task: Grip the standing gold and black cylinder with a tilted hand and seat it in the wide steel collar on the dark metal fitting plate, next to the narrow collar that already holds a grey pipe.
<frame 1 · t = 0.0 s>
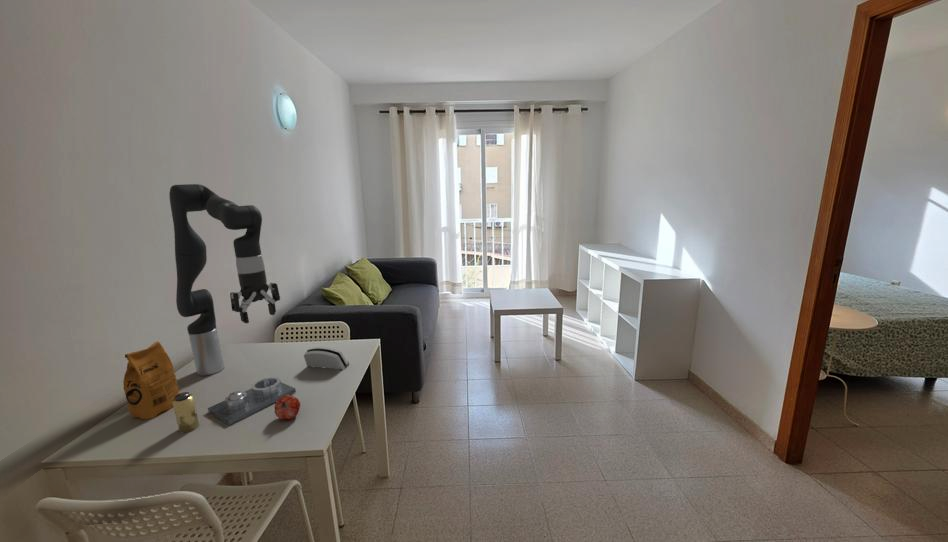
hand: (259, 318, 126), 29 cm above the table, tool pointing down, fingers open, 8 cm apart
gold and black cylinder: (189, 427, 119), on the table
grey rounded block: (326, 367, 155), on the table
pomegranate: (289, 417, 122), on the table
coffee package: (157, 409, 130), on the table
fitting plate: (253, 401, 132), on the table
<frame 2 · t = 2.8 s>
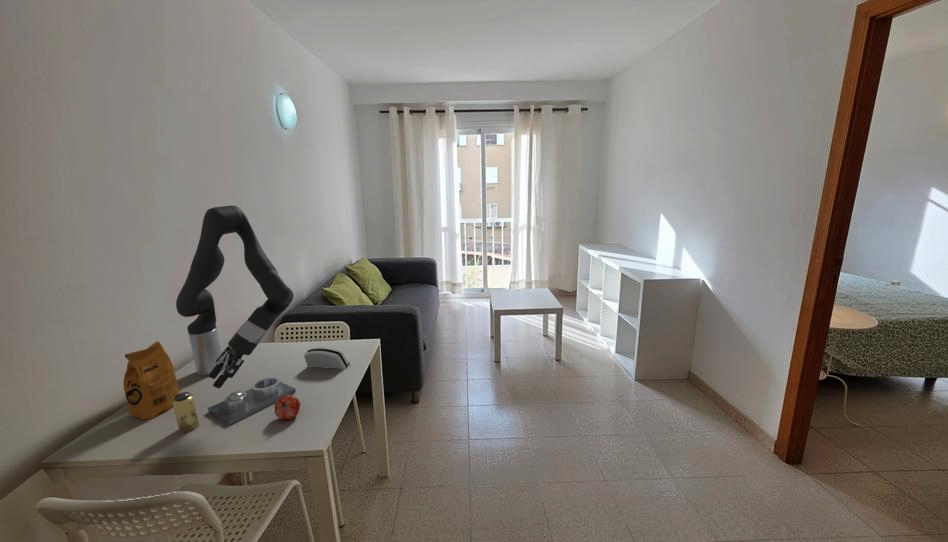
hand: (213, 382, 121), 12 cm above the table, tool tilted 45°, fingers open, 8 cm apart
nothing on the table moved.
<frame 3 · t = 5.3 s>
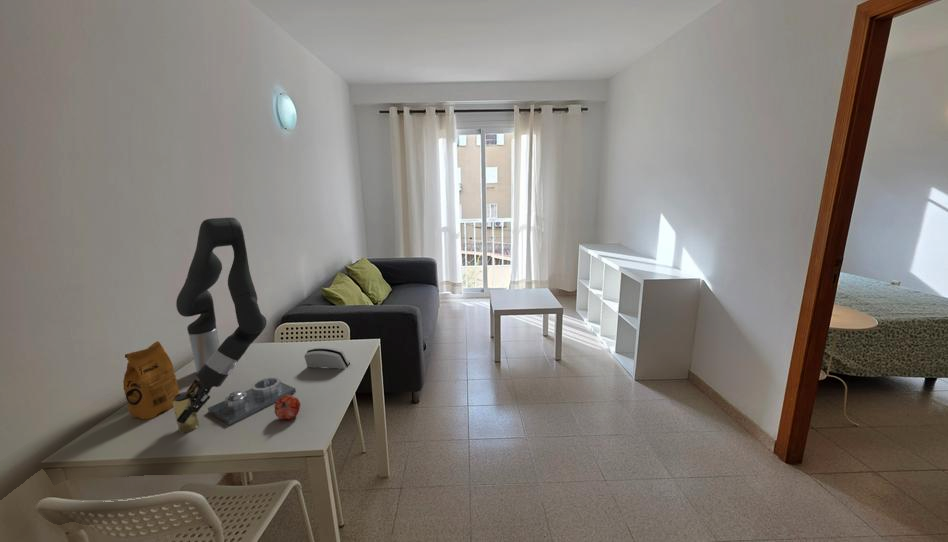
hand: (179, 418, 116), 4 cm above the table, tool tilted 45°, fingers closed on gold and black cylinder, 5 cm apart
gold and black cylinder: (189, 427, 119), on the table, touching gripper
everything else where it was.
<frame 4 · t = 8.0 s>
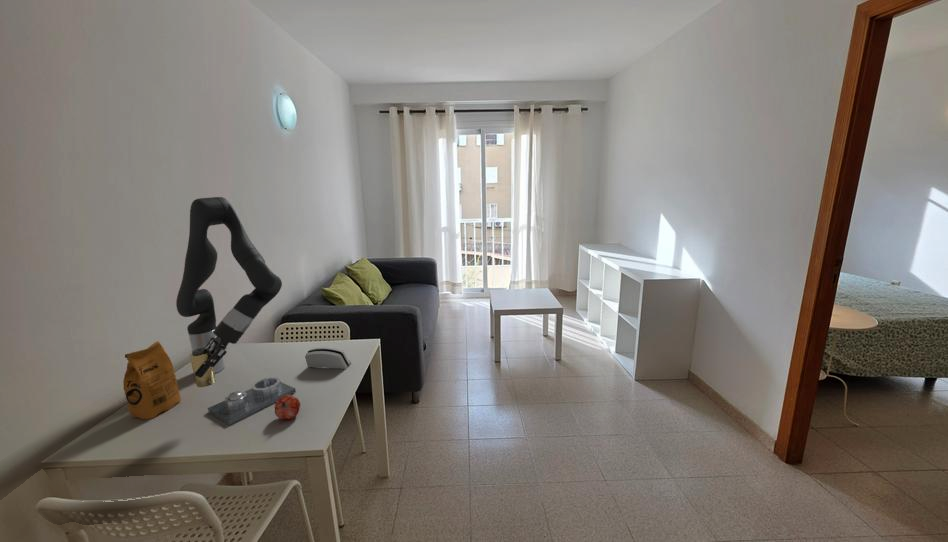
hand: (196, 372, 119), 16 cm above the table, tool tilted 45°, fingers closed on gold and black cylinder, 5 cm apart
gold and black cylinder: (206, 383, 121), point 12 cm above the table, touching gripper
everything else where it was.
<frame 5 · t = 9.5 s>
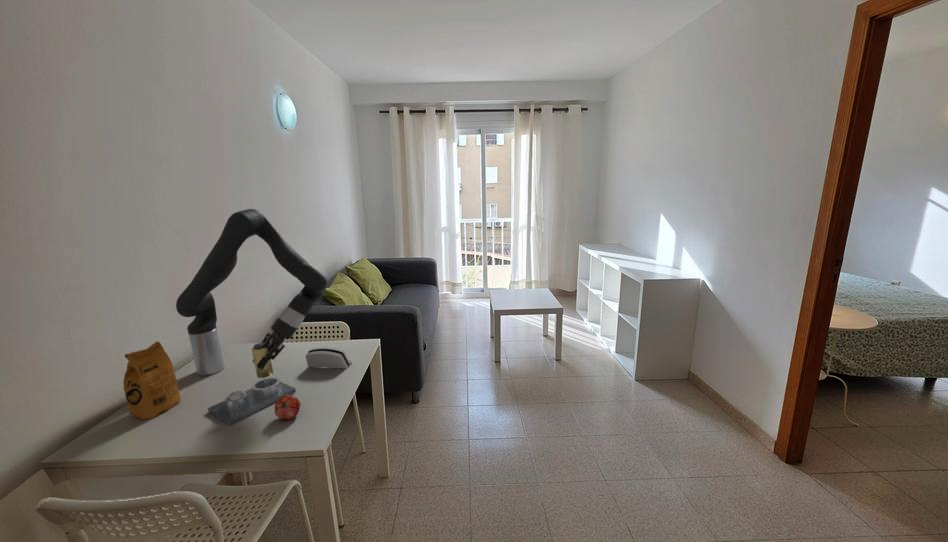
hand: (257, 365, 132), 12 cm above the table, tool tilted 45°, fingers closed on gold and black cylinder, 5 cm apart
gold and black cylinder: (265, 374, 134), point 8 cm above the table, touching gripper
everything else where it was.
when the fingers open (7 cm above the table, at t = 10.8 s): gold and black cylinder stays where it is, resting on fitting plate.
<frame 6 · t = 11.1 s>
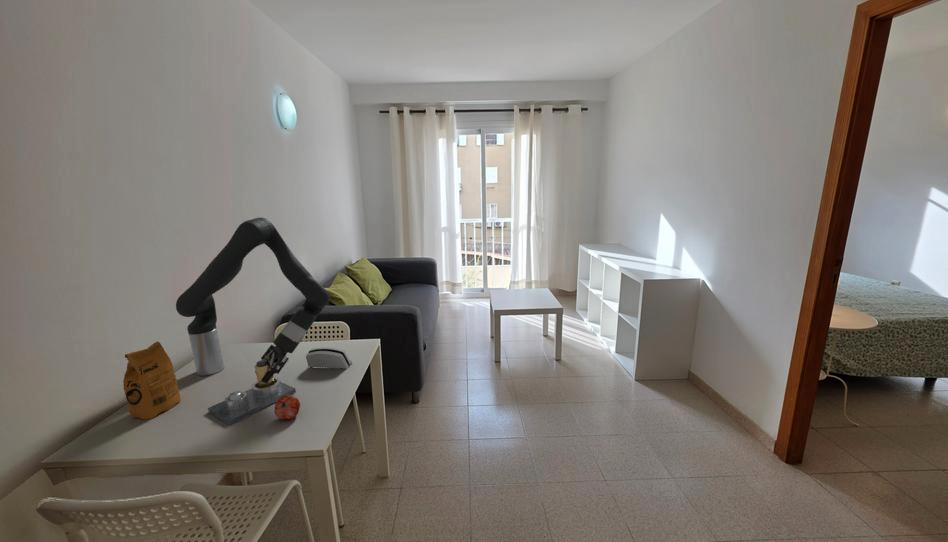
hand: (260, 377, 133), 7 cm above the table, tool tilted 45°, fingers open, 8 cm apart
gold and black cylinder: (267, 390, 135), point 2 cm above the table, touching fitting plate
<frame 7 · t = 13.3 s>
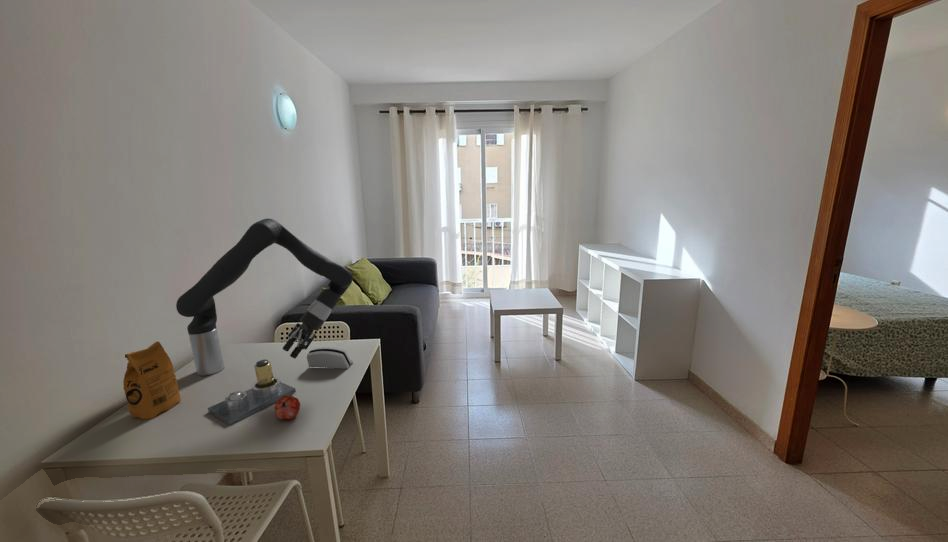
hand: (288, 353, 138), 13 cm above the table, tool tilted 45°, fingers open, 8 cm apart
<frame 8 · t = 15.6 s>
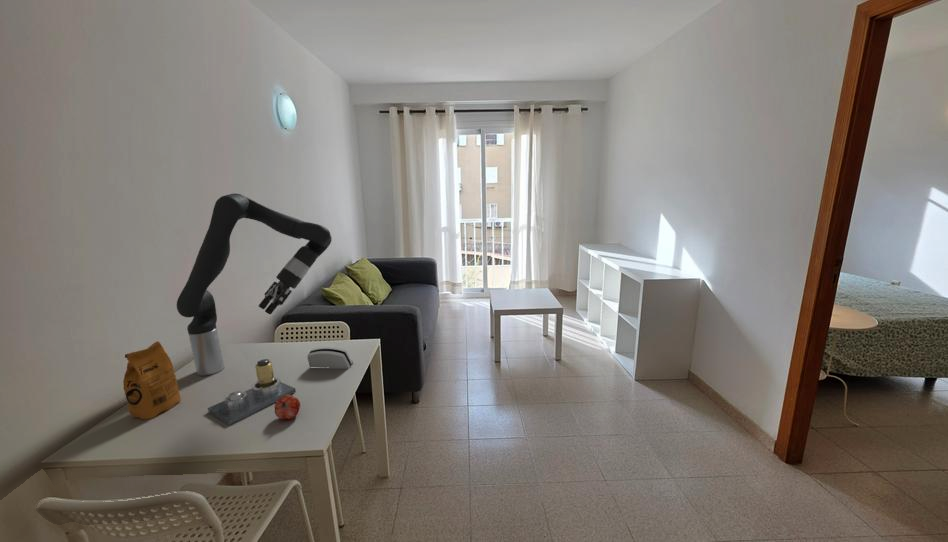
hand: (264, 310, 136), 29 cm above the table, tool tilted 45°, fingers open, 8 cm apart
at the end: gold and black cylinder 0.1 cm from the target spot, point 1.6 cm above the table; gold and black cylinder tilted 1°; the gripper is holding nothing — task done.
